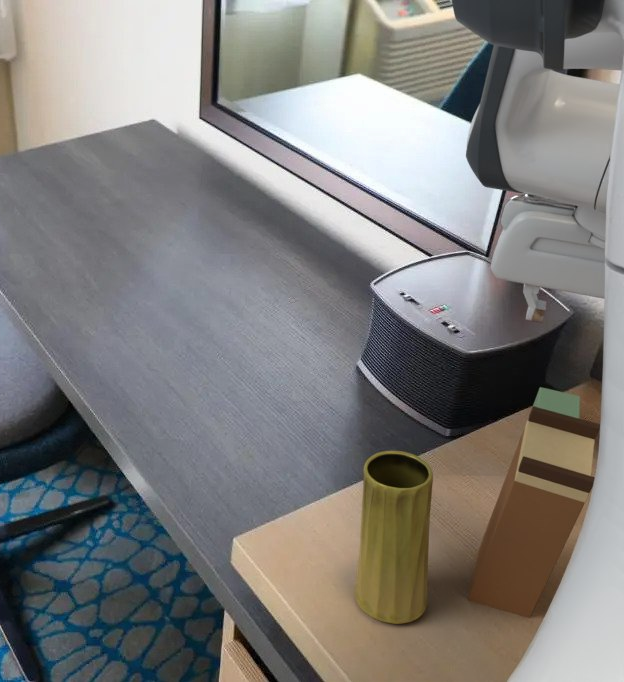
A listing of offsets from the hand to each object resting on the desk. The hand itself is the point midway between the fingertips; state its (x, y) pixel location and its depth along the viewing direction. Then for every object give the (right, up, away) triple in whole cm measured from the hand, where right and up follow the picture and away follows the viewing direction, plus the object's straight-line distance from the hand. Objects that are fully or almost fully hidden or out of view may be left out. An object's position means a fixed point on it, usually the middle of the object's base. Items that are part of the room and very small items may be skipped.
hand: (584, 328), depth 79 cm
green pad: (+1, -10, +7) cm, 13 cm away
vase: (-23, -24, -10) cm, 35 cm away
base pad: (-13, -23, -9) cm, 28 cm away
